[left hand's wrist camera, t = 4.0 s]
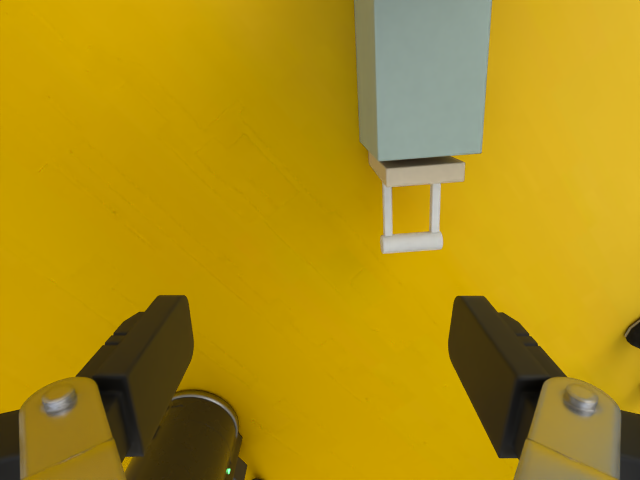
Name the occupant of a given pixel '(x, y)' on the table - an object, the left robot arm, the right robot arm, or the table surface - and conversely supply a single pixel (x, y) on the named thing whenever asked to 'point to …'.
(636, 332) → the figurine
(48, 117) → the table surface
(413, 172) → the drawer
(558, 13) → the table surface
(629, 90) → the table surface
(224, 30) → the table surface
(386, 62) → the cabinet
